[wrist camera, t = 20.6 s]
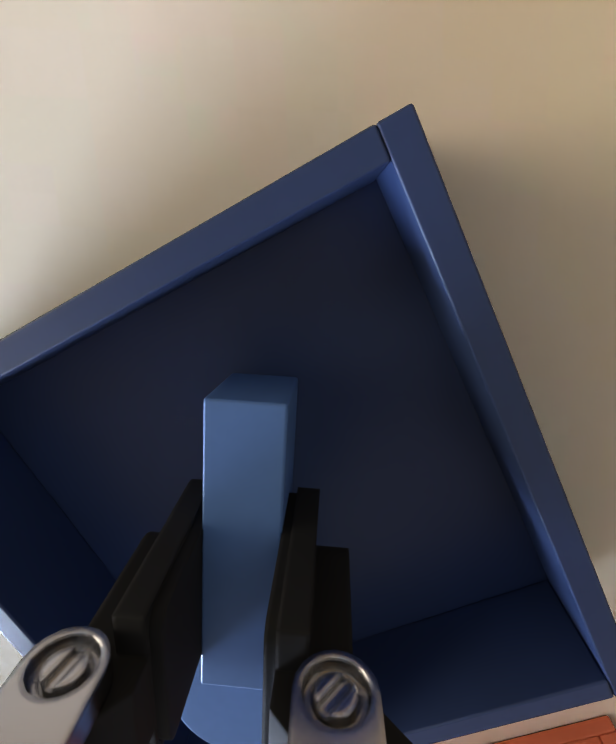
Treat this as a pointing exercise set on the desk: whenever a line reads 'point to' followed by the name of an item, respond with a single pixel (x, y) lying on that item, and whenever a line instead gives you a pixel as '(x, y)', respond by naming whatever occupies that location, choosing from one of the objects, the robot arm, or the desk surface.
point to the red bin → (573, 734)
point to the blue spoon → (240, 548)
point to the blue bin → (318, 437)
